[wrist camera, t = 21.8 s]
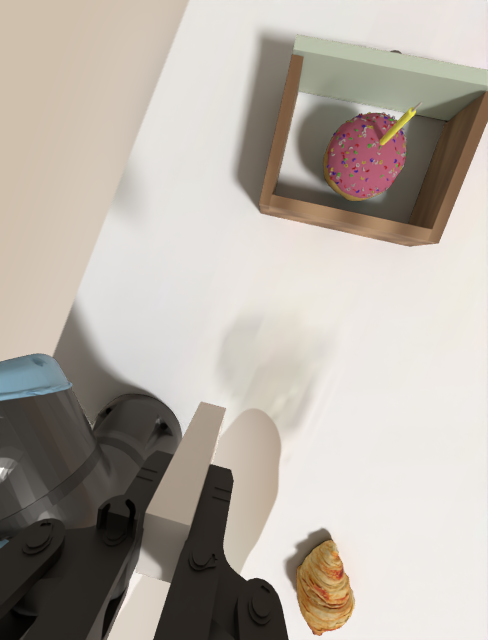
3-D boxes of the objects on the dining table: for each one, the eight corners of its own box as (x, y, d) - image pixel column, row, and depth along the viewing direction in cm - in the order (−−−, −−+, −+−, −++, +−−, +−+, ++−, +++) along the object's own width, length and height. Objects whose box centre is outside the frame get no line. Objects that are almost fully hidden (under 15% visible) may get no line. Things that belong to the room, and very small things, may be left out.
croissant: (310, 512, 49) (294, 549, 43) (365, 545, 44) (357, 592, 37) (299, 593, 53) (284, 637, 47) (349, 632, 48) (339, 688, 42)
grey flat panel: (289, 89, 31) (293, 49, 25) (294, 64, 30) (300, 16, 24) (457, 122, 30) (502, 88, 24) (466, 97, 29) (515, 55, 23)
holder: (260, 213, 34) (259, 203, 29) (291, 79, 31) (296, 36, 25) (421, 249, 33) (453, 246, 27) (473, 114, 30) (523, 78, 24)
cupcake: (362, 118, 31) (417, 31, 19) (400, 176, 32) (474, 127, 20) (304, 169, 33) (322, 117, 21) (341, 222, 34) (379, 201, 22)
